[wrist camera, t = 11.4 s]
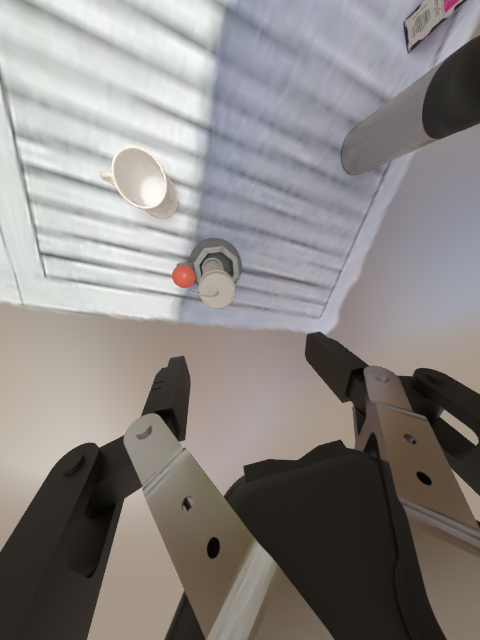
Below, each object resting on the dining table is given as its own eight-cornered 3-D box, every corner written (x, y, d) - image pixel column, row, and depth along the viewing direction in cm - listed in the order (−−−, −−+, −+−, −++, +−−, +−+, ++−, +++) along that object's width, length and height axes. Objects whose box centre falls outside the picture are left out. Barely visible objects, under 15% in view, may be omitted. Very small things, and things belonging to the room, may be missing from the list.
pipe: (217, 281, 47) (231, 335, 20) (196, 270, 45) (180, 314, 18) (226, 263, 46) (254, 295, 19) (204, 251, 43) (201, 267, 17)
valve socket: (238, 236, 44) (246, 235, 36) (242, 288, 50) (250, 298, 42) (171, 242, 42) (163, 242, 33) (184, 296, 48) (180, 308, 40)
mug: (120, 206, 37) (86, 193, 27) (119, 158, 34) (81, 122, 24) (176, 223, 41) (166, 217, 30) (180, 180, 37) (170, 156, 27)
